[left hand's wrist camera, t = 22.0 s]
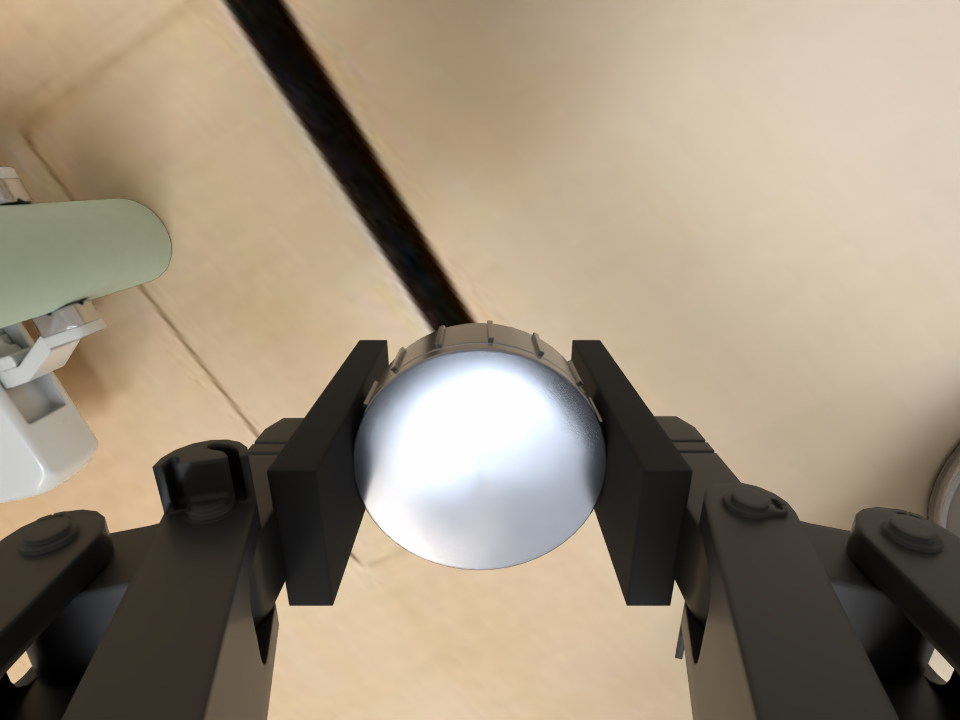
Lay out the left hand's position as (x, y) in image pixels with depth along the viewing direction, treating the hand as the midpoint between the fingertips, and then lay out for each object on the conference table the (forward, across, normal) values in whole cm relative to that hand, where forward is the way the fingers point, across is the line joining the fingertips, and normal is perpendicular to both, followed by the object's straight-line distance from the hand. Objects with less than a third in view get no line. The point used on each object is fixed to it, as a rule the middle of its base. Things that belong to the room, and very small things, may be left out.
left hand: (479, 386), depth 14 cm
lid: (-4, 0, 0) cm, 4 cm away
